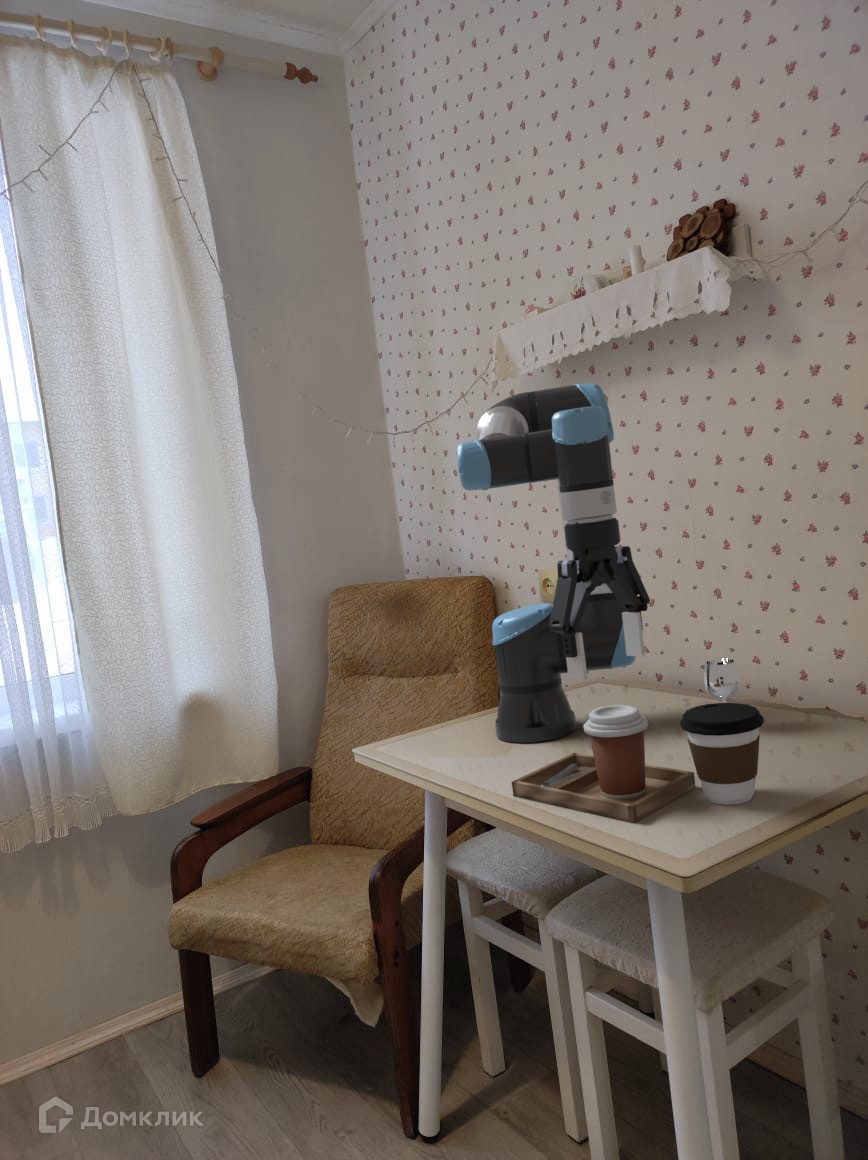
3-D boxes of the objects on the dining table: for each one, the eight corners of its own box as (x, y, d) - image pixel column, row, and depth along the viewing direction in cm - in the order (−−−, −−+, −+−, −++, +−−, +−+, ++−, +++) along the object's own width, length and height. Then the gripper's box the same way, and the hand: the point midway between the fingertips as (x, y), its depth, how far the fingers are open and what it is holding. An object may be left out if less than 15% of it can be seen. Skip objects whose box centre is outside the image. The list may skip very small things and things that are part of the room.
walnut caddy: (513, 795, 135) (511, 781, 135) (575, 765, 145) (574, 752, 145) (634, 823, 119) (632, 807, 118) (695, 787, 128) (693, 772, 128)
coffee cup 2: (677, 790, 128) (668, 709, 127) (751, 778, 129) (742, 697, 128) (705, 817, 117) (696, 728, 116) (786, 804, 118) (777, 715, 117)
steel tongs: (553, 796, 131) (553, 789, 131) (528, 790, 135) (527, 783, 135) (598, 773, 138) (597, 766, 138) (573, 769, 142) (572, 762, 142)
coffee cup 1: (607, 778, 135) (598, 701, 134) (665, 783, 130) (656, 703, 129) (580, 799, 128) (570, 718, 127) (640, 806, 123) (630, 721, 122)
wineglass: (740, 724, 155) (733, 656, 154) (748, 733, 149) (741, 663, 148) (706, 727, 155) (699, 660, 154) (713, 737, 150) (706, 667, 149)
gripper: (553, 530, 114) (573, 692, 116) (663, 506, 130) (679, 648, 133) (510, 533, 119) (530, 687, 122) (621, 509, 136) (637, 645, 138)
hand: (608, 667), depth 127 cm, fingers open, 13 cm apart
